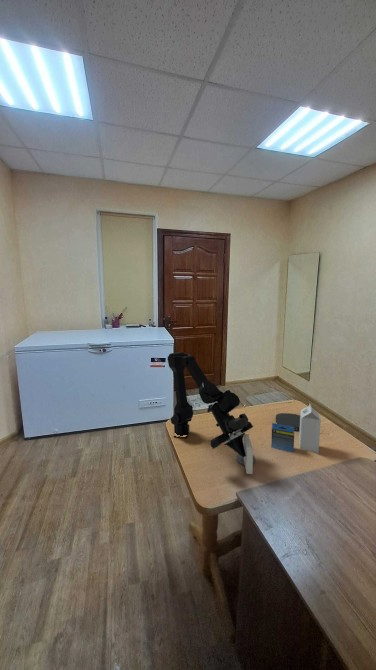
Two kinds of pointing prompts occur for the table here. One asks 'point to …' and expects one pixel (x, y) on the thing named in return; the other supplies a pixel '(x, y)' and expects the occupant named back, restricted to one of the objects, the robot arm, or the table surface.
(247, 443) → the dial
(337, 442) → the table surface
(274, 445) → the label tape cartridge
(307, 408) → the milk carton
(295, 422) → the media streaming box
